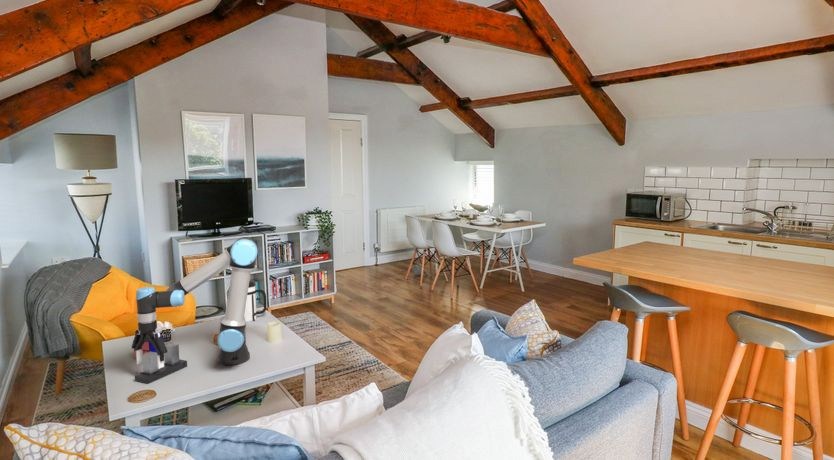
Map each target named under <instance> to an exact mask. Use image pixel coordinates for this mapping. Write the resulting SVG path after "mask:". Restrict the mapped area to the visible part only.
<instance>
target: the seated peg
mask: <svg viewBox="0 0 834 460" xmlns="http://www.w3.org/2000/svg"><path fill="white" fill-rule="evenodd" d="M165 346H166V348H167V351H168V352H167V353H164V363H165V365H168V366H173V365H176V364H178V363H180V361H179V359H180V347H179V344H178V343H169V344H167V345H166V344H165Z"/></svg>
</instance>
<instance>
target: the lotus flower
mask: <svg viewBox="0 0 834 460" xmlns="http://www.w3.org/2000/svg"><path fill="white" fill-rule="evenodd" d="M166 329H171V330H173V331H171V330H170V332H171V333H170V334H172V333H173V332H175V331H176V328H175V327H174V326H173V323H170V322H169V321H166V320H164V322H161V321H159V320H158V321H157V328H156V330H155V331H156V333H159V332H160V331H162V330H166Z"/></svg>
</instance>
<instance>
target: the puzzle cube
mask: <svg viewBox="0 0 834 460" xmlns="http://www.w3.org/2000/svg"><path fill="white" fill-rule="evenodd" d="M162 339H163V340H164V335H162ZM154 340H155V339H154ZM141 349H142V353H143V354H145V353H148V352H156V353H157V351H156V350H155V348H154V346H153V345H152V343H150V342H148V341H145V342H144V344H143V346H142V348H141ZM157 355H158V353H157ZM133 357H134V358H133V359H135V360H136V352H135V350H134V349H133Z"/></svg>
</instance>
